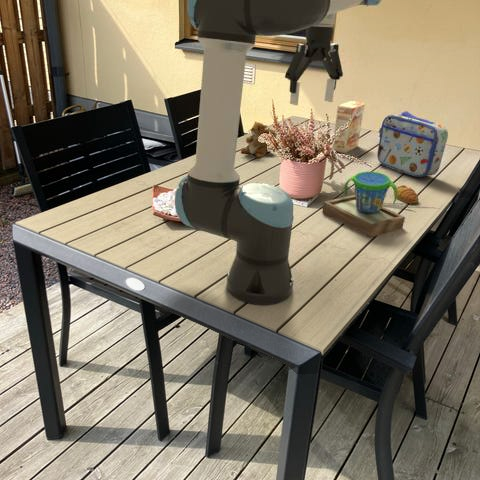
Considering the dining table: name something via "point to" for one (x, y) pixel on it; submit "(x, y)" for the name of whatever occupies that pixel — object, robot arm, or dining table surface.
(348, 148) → the coffeecake box
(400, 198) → the pastry
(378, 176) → the snack cup
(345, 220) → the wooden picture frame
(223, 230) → the robot arm
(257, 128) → the stuffed squirrel
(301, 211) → the dining table surface
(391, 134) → the lunch box
